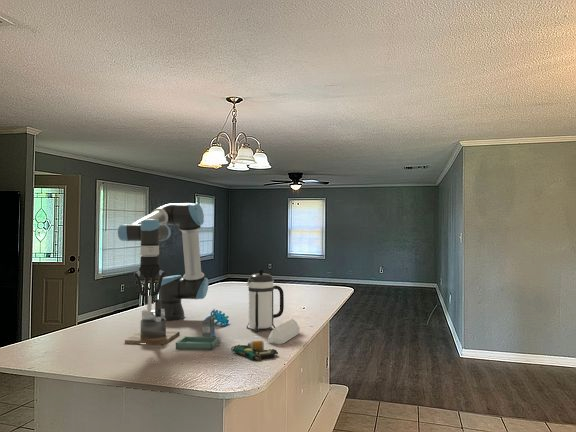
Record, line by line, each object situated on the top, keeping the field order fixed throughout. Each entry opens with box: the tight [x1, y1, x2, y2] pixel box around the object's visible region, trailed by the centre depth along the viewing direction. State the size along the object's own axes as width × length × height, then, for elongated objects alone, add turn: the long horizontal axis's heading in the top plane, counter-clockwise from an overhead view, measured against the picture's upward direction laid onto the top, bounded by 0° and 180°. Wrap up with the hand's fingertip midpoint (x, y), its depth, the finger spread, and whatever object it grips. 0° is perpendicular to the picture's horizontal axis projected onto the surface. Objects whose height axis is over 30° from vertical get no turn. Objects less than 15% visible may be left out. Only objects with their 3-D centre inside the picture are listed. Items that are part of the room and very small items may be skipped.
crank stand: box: [124, 319, 181, 345], centre depth 197 cm, size 18×18×8 cm
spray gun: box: [230, 340, 279, 362], centre depth 172 cm, size 4×17×15 cm
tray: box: [175, 336, 220, 351], centre depth 185 cm, size 11×16×2 cm
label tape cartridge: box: [202, 308, 216, 337], centre depth 200 cm, size 9×4×12 cm, turn 178°
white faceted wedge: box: [267, 318, 301, 345], centre depth 198 cm, size 7×7×24 cm
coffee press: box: [246, 268, 285, 333], centre depth 216 cm, size 17×16×30 cm
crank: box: [141, 298, 165, 322], centre depth 192 cm, size 20×10×11 cm, turn 25°
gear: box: [214, 309, 230, 327], centre depth 225 cm, size 11×6×10 cm
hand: (149, 311), depth 183 cm, fingers closed
